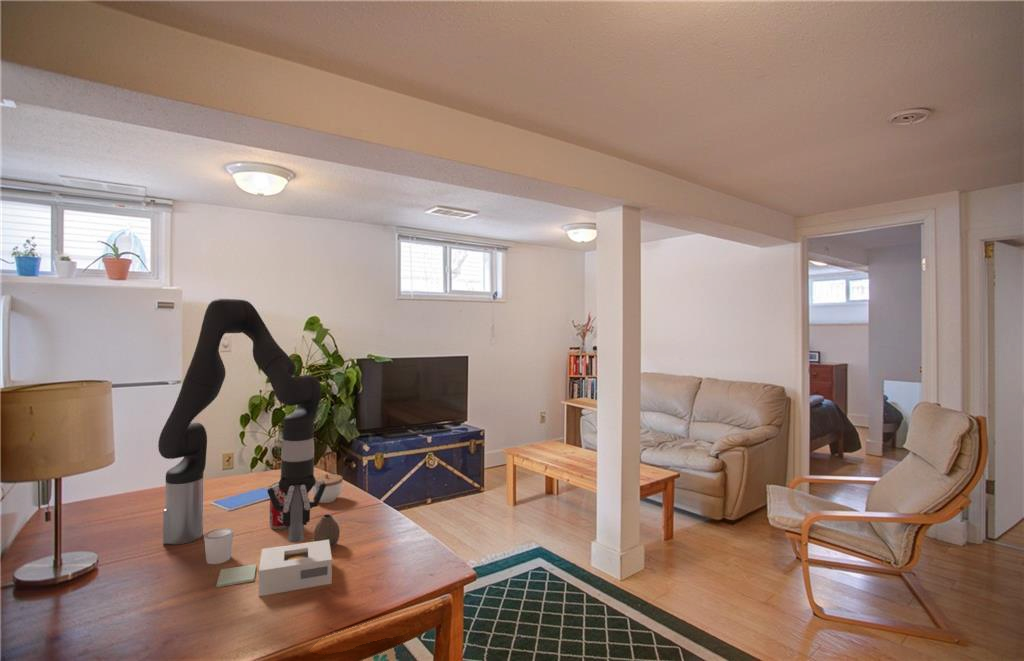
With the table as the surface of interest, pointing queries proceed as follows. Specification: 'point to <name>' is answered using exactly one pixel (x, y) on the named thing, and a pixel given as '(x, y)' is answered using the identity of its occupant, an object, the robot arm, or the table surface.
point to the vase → (327, 530)
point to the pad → (236, 575)
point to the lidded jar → (329, 487)
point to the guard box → (295, 567)
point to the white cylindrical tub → (218, 545)
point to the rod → (296, 516)
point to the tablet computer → (242, 499)
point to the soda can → (277, 516)
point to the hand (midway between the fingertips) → (296, 524)
